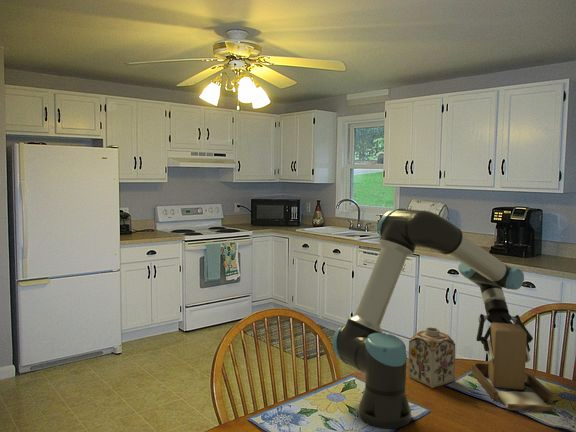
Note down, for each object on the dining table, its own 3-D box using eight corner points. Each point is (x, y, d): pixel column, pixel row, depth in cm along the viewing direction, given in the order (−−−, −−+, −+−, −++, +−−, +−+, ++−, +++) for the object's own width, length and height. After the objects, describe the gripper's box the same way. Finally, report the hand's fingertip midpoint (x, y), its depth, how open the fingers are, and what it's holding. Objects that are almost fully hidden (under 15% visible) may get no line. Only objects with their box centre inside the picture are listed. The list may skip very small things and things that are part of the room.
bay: (500, 409, 147) (500, 397, 147) (471, 372, 175) (471, 362, 175) (561, 411, 146) (561, 399, 146) (522, 374, 174) (522, 363, 174)
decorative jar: (429, 370, 177) (431, 322, 176) (455, 381, 168) (457, 331, 166) (406, 376, 171) (407, 327, 170) (431, 389, 161) (433, 336, 160)
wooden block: (517, 379, 170) (520, 323, 168) (524, 391, 160) (527, 332, 158) (487, 376, 172) (489, 321, 170) (492, 388, 162) (495, 330, 161)
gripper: (524, 309, 179) (541, 366, 165) (459, 307, 180) (471, 363, 166) (531, 298, 173) (550, 356, 159) (464, 297, 175) (477, 354, 160)
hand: (510, 360), depth 162 cm, fingers closed on wooden block, 11 cm apart
